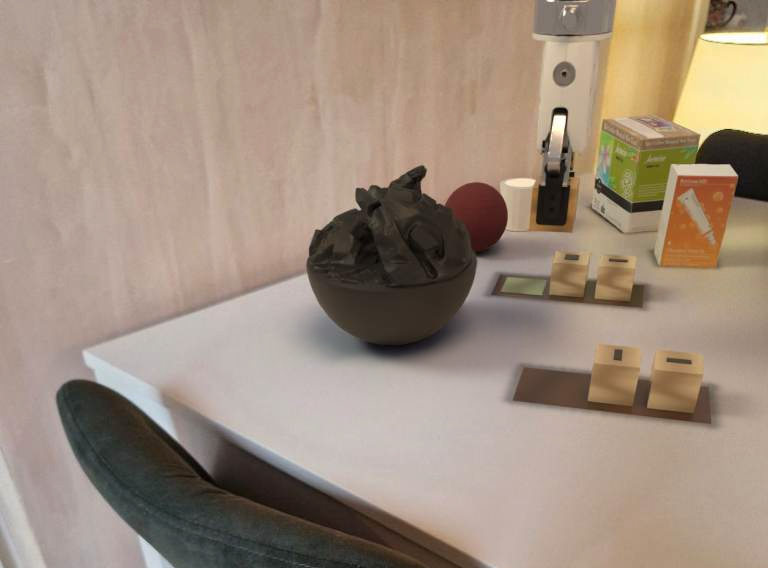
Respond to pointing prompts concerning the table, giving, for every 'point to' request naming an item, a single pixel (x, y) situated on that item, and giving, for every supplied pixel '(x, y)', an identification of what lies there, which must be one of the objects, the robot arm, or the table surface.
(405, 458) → the table surface
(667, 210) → the small box
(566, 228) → the orange wooden cube
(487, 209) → the decorative ball
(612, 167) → the tea box
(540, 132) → the robot arm
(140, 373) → the table surface
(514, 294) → the board
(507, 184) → the shot glass
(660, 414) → the front word board
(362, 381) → the table surface
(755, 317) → the table surface
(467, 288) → the coal bowl
